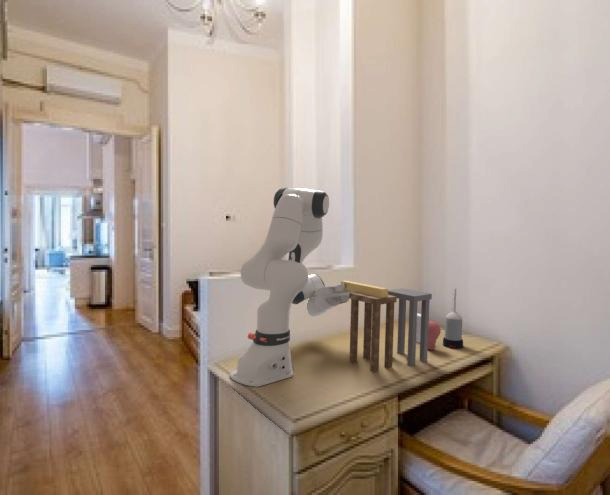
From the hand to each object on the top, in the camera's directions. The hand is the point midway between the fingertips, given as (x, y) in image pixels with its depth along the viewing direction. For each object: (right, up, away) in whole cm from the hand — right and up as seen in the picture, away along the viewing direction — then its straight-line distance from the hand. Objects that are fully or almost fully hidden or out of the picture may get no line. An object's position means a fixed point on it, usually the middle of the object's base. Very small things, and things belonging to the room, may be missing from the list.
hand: (349, 284), depth 152 cm
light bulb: (+35, -28, +10) cm, 46 cm away
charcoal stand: (+22, -29, -2) cm, 36 cm away
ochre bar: (+4, -2, -6) cm, 8 cm away
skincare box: (+33, -28, +22) cm, 48 cm away
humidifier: (+47, -28, +16) cm, 57 cm away
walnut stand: (+7, -29, -9) cm, 31 cm away
